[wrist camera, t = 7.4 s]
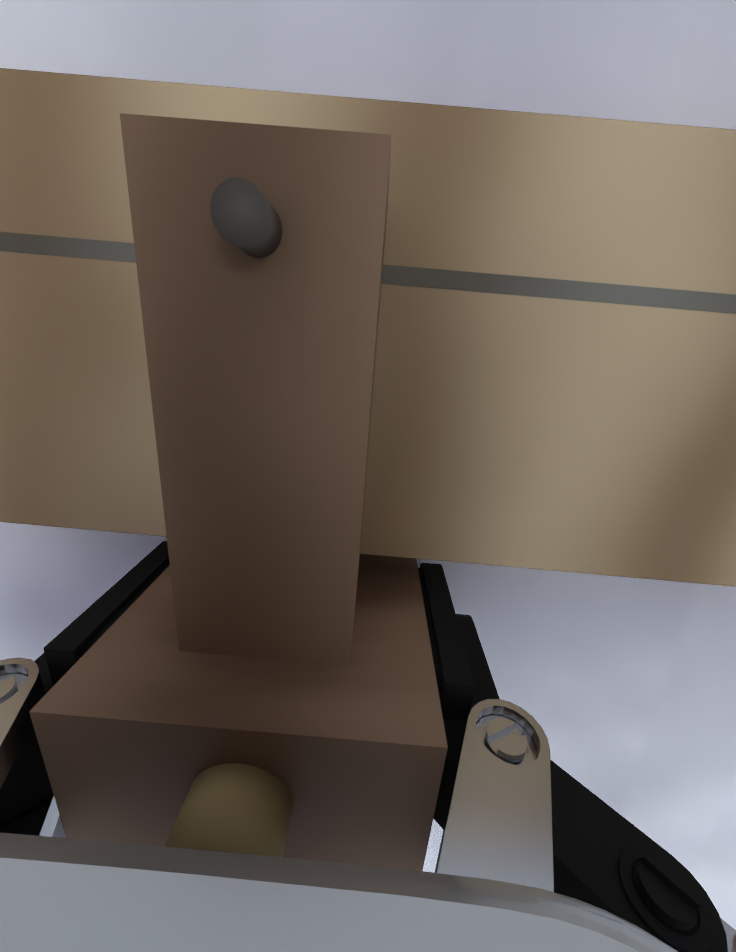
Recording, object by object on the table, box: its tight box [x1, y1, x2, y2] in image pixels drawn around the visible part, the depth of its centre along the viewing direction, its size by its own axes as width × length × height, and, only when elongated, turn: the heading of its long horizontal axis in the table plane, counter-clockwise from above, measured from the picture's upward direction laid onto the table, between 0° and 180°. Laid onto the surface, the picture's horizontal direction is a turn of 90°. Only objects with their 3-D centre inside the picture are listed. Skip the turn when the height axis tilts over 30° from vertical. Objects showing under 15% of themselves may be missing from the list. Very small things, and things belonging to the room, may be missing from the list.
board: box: [0, 68, 736, 587], centre depth 8 cm, size 28×8×2 cm, turn 85°
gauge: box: [29, 113, 448, 871], centre depth 7 cm, size 6×11×7 cm, turn 176°
